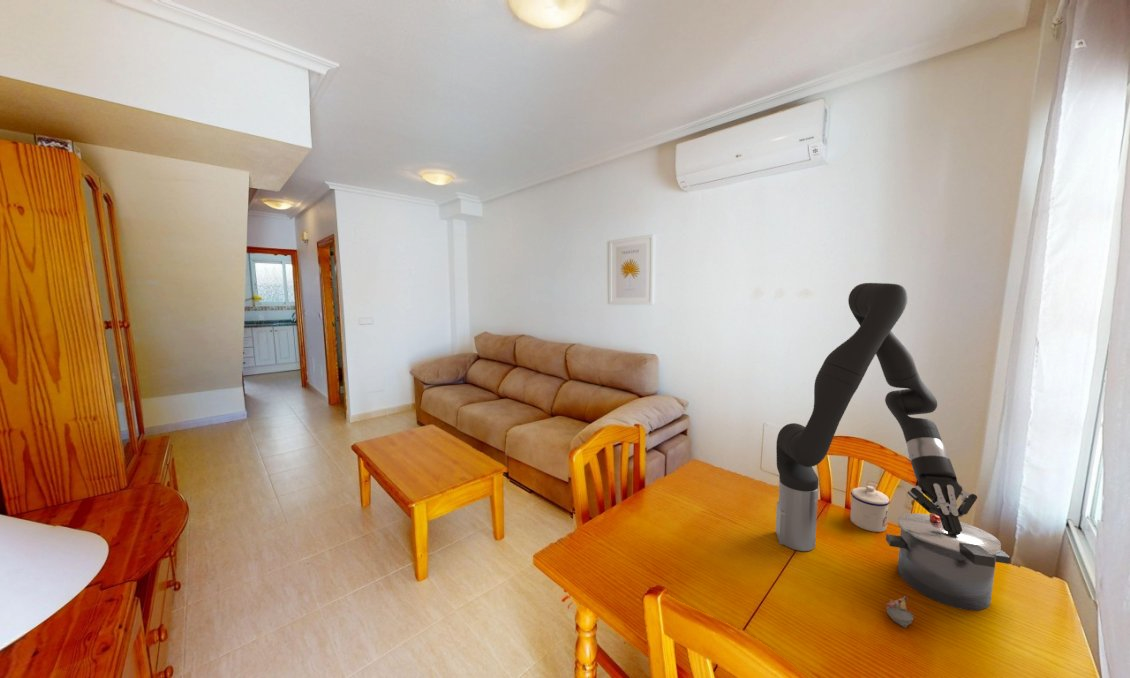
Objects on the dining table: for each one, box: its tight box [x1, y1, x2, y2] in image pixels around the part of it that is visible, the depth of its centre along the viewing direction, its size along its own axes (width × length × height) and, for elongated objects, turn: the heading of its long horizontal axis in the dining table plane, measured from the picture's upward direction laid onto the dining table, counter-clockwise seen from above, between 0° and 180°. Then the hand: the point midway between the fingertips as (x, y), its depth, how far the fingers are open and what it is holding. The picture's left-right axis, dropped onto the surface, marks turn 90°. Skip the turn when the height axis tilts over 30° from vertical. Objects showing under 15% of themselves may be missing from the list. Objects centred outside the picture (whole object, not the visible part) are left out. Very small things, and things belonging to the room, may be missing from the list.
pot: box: [885, 528, 1011, 611], centre depth 94 cm, size 22×17×11 cm
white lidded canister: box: [849, 485, 891, 533], centre depth 118 cm, size 12×9×12 cm
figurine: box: [886, 595, 915, 628], centre depth 84 cm, size 5×4×6 cm
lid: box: [897, 512, 1002, 568], centre depth 90 cm, size 22×17×3 cm
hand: (954, 534), depth 89 cm, fingers closed
